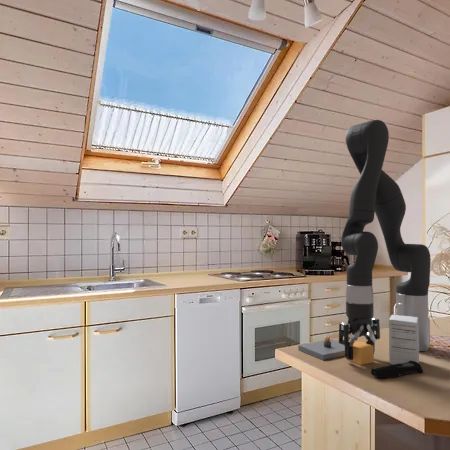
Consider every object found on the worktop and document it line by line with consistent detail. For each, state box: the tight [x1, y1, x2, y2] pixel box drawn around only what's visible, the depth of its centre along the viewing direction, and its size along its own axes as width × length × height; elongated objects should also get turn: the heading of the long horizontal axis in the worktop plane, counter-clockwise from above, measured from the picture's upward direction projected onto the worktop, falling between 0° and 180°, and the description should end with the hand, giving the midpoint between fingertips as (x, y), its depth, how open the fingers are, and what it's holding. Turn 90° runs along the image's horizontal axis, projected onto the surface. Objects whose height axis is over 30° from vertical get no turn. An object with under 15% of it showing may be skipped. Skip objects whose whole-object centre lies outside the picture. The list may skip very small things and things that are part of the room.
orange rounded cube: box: [346, 341, 375, 366], centre depth 109 cm, size 5×5×5 cm
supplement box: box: [388, 314, 420, 365], centre depth 108 cm, size 7×7×13 cm
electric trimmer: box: [371, 361, 424, 379], centre depth 99 cm, size 4×16×3 cm, turn 111°
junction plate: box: [297, 335, 345, 361], centre depth 118 cm, size 14×11×4 cm
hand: (359, 356), depth 109 cm, fingers open, 8 cm apart
